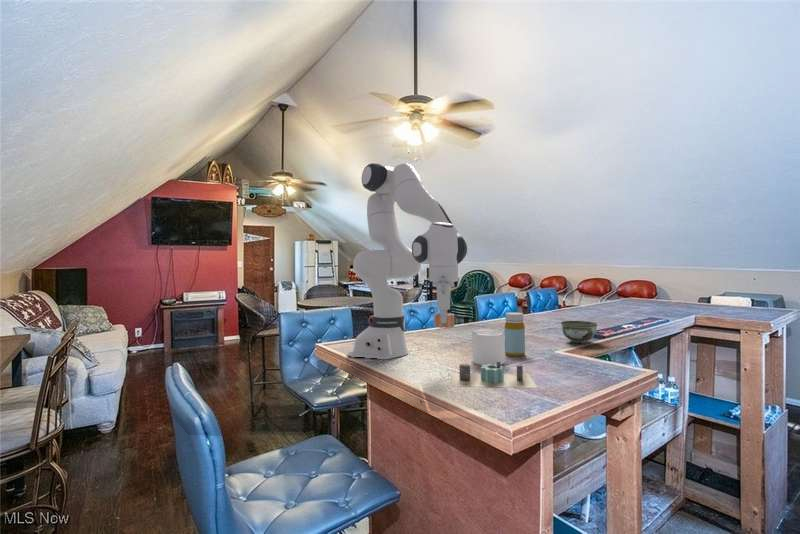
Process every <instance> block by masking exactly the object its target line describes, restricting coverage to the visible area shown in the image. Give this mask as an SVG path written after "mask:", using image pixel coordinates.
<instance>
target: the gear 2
mask: <svg viewBox="0 0 800 534" xmlns="http://www.w3.org/2000/svg"><path fill="white" fill-rule="evenodd" d="M489 365H491V364H487V365H481V366H480V373H481V381H485V382H486V383H489V382H490V383H498V382H503V380H504V374H505V373H504V366H502V365H500V362H499V361H497V365H495V368H489Z"/></svg>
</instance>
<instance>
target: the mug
mask: <svg viewBox="0 0 800 534" xmlns="http://www.w3.org/2000/svg"><path fill="white" fill-rule="evenodd" d="M471 337H472V339H471V340H472V363H474V364H476V365H487V364H491V365H497V361H499V362H500V366H502V365H503V364H505V332H504V331H501V330H497V329H495V330H493V329H479V330H474V331H472V336H471Z"/></svg>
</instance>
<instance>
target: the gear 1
mask: <svg viewBox="0 0 800 534" xmlns="http://www.w3.org/2000/svg"><path fill="white" fill-rule="evenodd" d="M433 325H434V327H435V328H439V329H444V328H445V329H446V328H447V329H450V328H454V327H455V314H454V313H451V312H447V323H441V315H440V312H438V313H434V314H433Z"/></svg>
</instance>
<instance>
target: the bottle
mask: <svg viewBox="0 0 800 534" xmlns="http://www.w3.org/2000/svg"><path fill="white" fill-rule="evenodd" d="M504 354H505V355H506V356H508V357H514V358H515V357H516V358H517V357H518V358H520V357H523V356H524V355H525V354H526V327H525V324H524V313H523V312H517V311H511V312H505V324H504Z"/></svg>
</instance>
